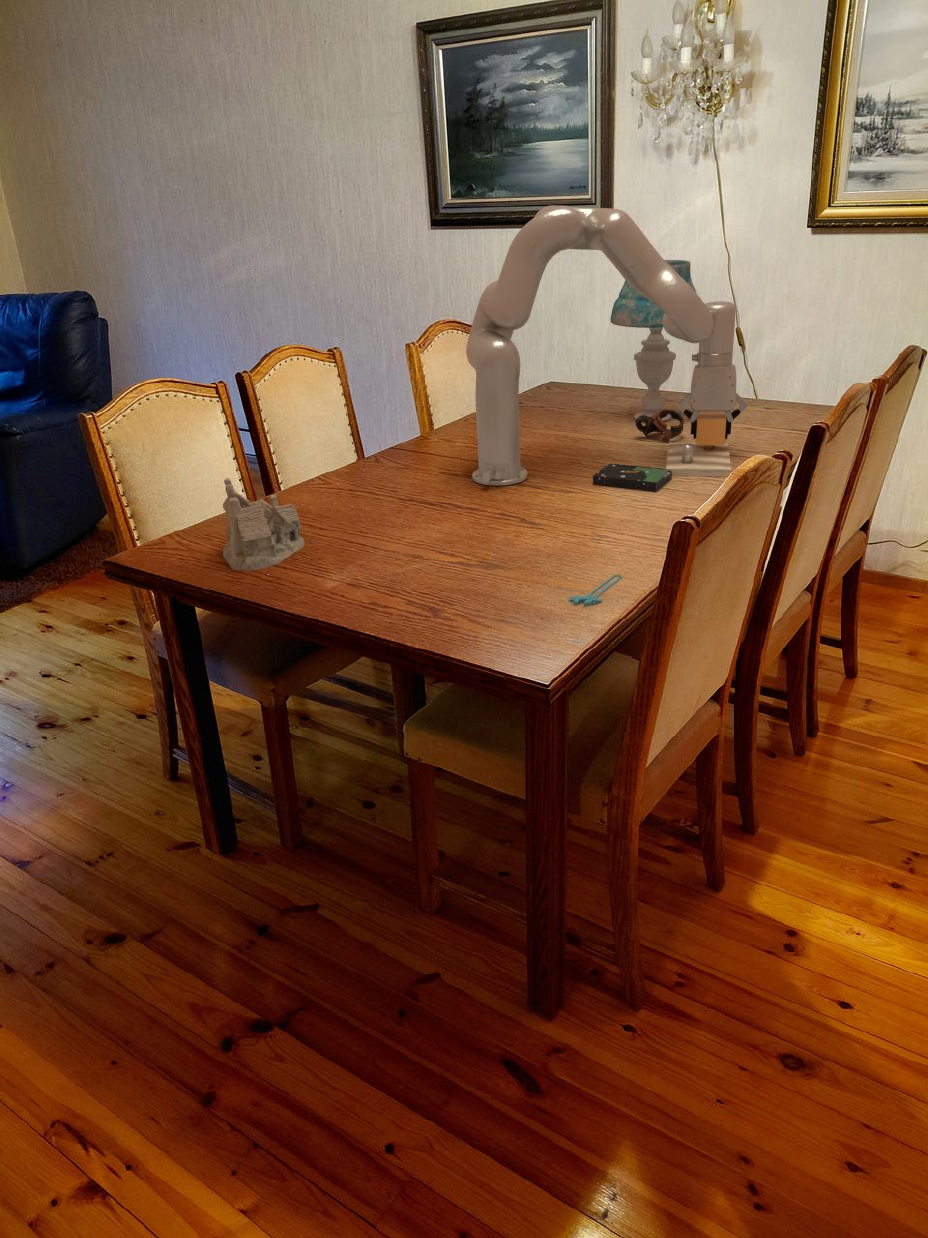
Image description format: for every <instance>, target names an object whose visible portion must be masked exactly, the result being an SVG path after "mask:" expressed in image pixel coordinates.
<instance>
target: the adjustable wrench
mask: <svg viewBox="0 0 928 1238" xmlns="http://www.w3.org/2000/svg"><path fill="white" fill-rule="evenodd" d="M616 577H617V579H616V580H614V579H615V578H616ZM622 579H623V576H622V575H621V574H614V575H612V576H611V577H610V578H608V579H607V580H606V581H604V582H603V583H602V584H600V585H598V586H597V588H595V589H594V590H593V591H591V592H590V593H588V594H586V595H575V596H569V599H568V602H570V603H571V602H572V605H574V606H576V607H577V606H579V604H583V607H590V606H596V605H598V604H602V599H599V597H600V596H601V595H602V594H604V593H605V592H606V591H608V590H609V589H610V588H612V587H613V586H614V585H615V584H617V583H618V582H620V581H621V580H622ZM595 593H598V594H595Z"/></svg>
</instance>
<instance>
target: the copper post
mask: <svg viewBox="0 0 928 1238" xmlns="http://www.w3.org/2000/svg"><path fill="white" fill-rule="evenodd" d="M714 449H715V445H704V450H707V451H712V450H714Z"/></svg>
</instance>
